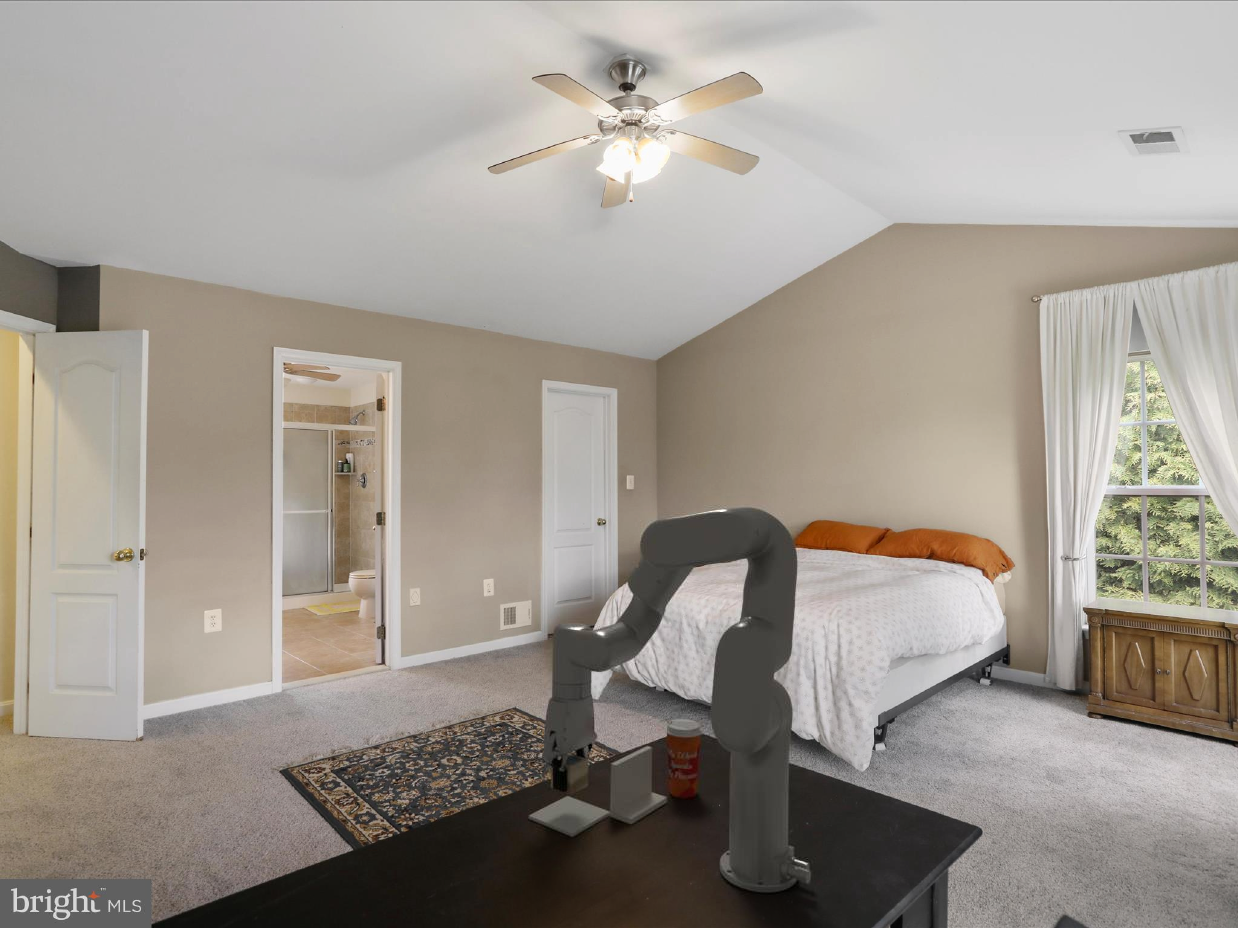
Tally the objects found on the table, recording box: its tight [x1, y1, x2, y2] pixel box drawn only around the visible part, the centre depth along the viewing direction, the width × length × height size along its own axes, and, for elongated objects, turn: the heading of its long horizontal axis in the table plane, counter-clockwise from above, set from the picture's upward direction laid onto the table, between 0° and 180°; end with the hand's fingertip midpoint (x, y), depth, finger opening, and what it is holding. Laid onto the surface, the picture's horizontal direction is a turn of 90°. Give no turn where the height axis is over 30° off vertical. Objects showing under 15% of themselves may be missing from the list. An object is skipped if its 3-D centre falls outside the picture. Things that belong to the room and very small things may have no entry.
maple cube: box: [550, 753, 589, 796], centre depth 136 cm, size 5×5×5 cm
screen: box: [609, 745, 668, 825], centre depth 140 cm, size 5×12×10 cm, turn 142°
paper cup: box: [665, 718, 704, 799], centre depth 148 cm, size 8×8×14 cm
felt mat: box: [528, 795, 610, 838], centre depth 136 cm, size 11×11×1 cm
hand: (569, 783), depth 136 cm, fingers closed on maple cube, 5 cm apart
